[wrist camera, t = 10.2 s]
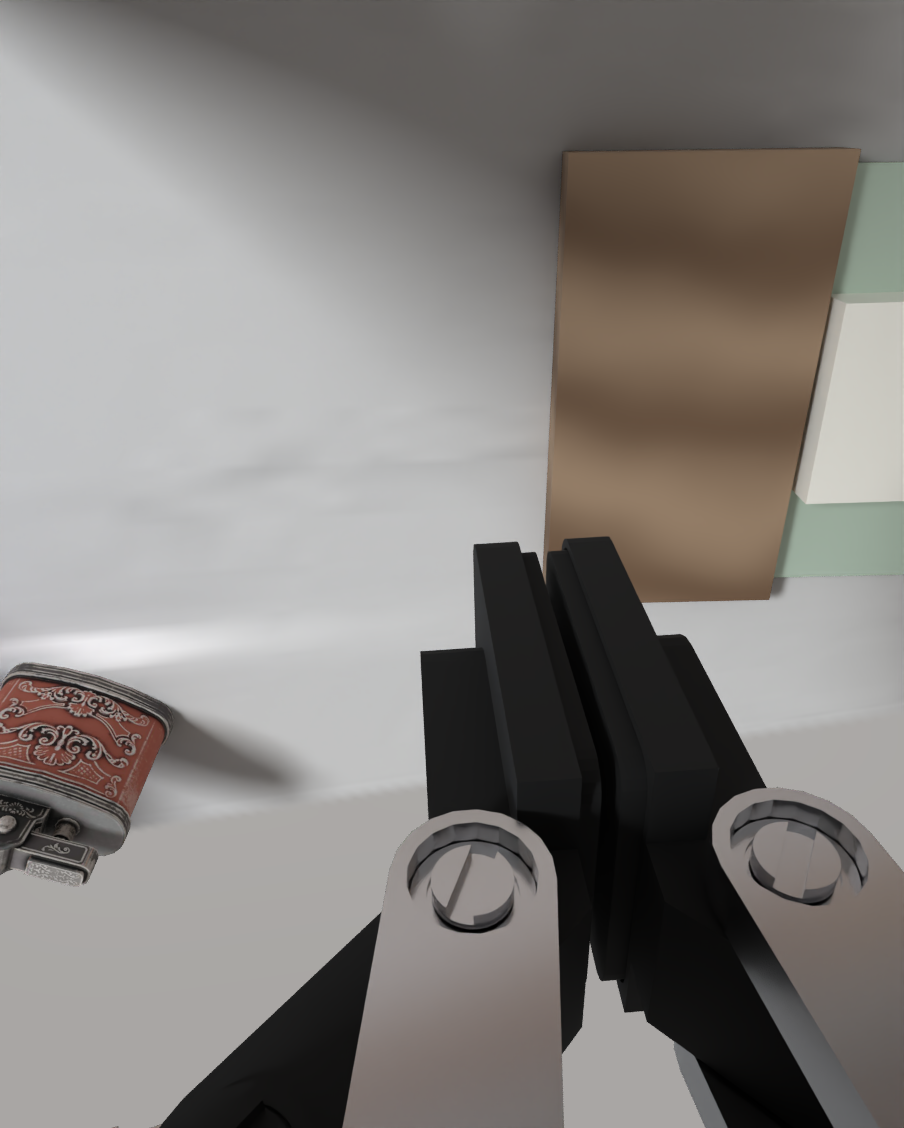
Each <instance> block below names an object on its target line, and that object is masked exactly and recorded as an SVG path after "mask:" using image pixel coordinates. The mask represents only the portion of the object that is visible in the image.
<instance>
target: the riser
mask: <svg viewBox="0 0 904 1128" xmlns="http://www.w3.org/2000/svg"><path fill="white" fill-rule="evenodd" d="M860 152H861V149H856V148H844V147H829V148H761V149H693V150H625V151H563V155H562V176H561V197H560V218H559V239H558V260H557V281H556V303H555V324H554V345H553V366H552V387H551V408H550V430H549V451H548V472H547V493H546V514H545V535H544V556H543V577H544V581H545V584H546V560H547V553H548V551H560V550H562V543H563V541H564V539H570V538H586V537H602V536H609V537H610V539H611V540H612V542H613V544H614V546H615V548H616V550H617V553H618V555H619V557H620V559H621V561H622V563H623V565H624V567H625V570H626V572H627V574H628V576H629V578H630V580H631V582H632V584H633V586H634V589H635V591H636V593H637V595H638V597H639V599H640V601H641V603H645V602H689V601H733V600H769V598H770V593H771V588H772V583H773V578H774V573H775V568H776V564H777V559H778V554H779V549H780V544H781V539H782V534H783V529H784V524H785V519H786V515H787V510H788V505H789V500H790V495H791V490H792V485H793V480H794V475H795V470H796V466H797V461H798V456H799V451H800V446H801V441H802V436H803V431H804V426H805V421H806V417H807V412H808V407H809V402H810V397H811V392H812V387H813V382H814V377H815V372H816V368H817V363H818V358H819V353H820V348H821V343H822V338H823V333H824V328H825V323H826V319H827V314H828V309H829V304H830V299H831V294H832V289H833V284H834V279H835V274H836V270H837V265H838V260H839V255H840V250H841V245H842V240H843V235H844V230H845V226H846V221H847V216H848V211H849V206H850V201H851V196H852V191H853V186H854V181H855V177H856V172H857V167H858V162H859V157H860Z"/></svg>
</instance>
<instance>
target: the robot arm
mask: <svg viewBox="0 0 904 1128" xmlns="http://www.w3.org/2000/svg"><path fill="white" fill-rule="evenodd" d="M473 562H474V601H475V641H476V648H465V649H450V650H435V651H420V653H421V675H422V695H423V715H424V735H425V755H426V776H427V793H428V794H427V795H428V813H429V814H428V815H429V820H428V821H427V822H425V823H424V824H422V825H421V826H420V827H418V828H416V829H415V830H413V831H412V832H411V833H410V834H409V835H408V836H407V838H406V839H405V840H404V841H403V843H402V844H401V845H400V846H399V847H398V849H397V851H396V854H395V856H394V859H393V861H392V864H391V867H390V869H389V874H388V880H387V885H386V891H385V896H384V902H383V907H382V912H381V913H380V914H379V915H378V916H377V917H376V918H375V919H373V920H372V921H371V922H370V923H369V924H368V925H367V926H366V927H365V928H364V929H363V930H362V931H361V932H360V933H359V934H357V935H356V936H355V938H353V939H352V940H351V941H350V942H349V943H348V944H347V945H346V946H345V947H344V948H343V949H342V950H341V951H339V952H338V953H337V954H336V955H335V956H334V957H333V958H332V959H331V960H330V961H329V962H328V963H327V964H326V965H325V966H324V967H323V968H322V969H321V970H319V971H318V972H317V973H316V974H315V975H314V976H313V977H312V978H311V979H310V980H309V981H308V982H307V983H306V984H304V985H303V986H302V987H301V988H300V989H299V990H298V991H297V992H296V993H295V994H294V995H293V996H292V997H291V998H290V999H289V1000H288V1001H287V1002H285V1003H284V1004H283V1005H282V1006H281V1007H280V1008H279V1009H278V1010H277V1011H276V1012H275V1013H274V1014H273V1015H272V1016H271V1017H270V1018H268V1020H266V1021H265V1022H264V1023H263V1024H262V1025H261V1026H260V1027H259V1028H258V1029H257V1030H256V1031H255V1032H254V1033H252V1034H251V1036H249V1037H248V1038H247V1039H246V1040H245V1041H244V1042H243V1043H242V1044H241V1045H240V1046H239V1047H238V1048H237V1049H236V1050H234V1051H233V1052H232V1053H231V1054H230V1055H229V1056H228V1057H227V1058H226V1059H225V1060H224V1061H223V1062H222V1063H221V1064H220V1065H219V1066H217V1067H216V1069H214V1070H213V1071H212V1073H210V1074H209V1075H208V1076H207V1077H206V1078H205V1079H204V1080H203V1081H202V1082H201V1083H199V1084H198V1085H197V1086H196V1087H195V1088H194V1089H193V1090H192V1091H191V1092H190V1093H189V1094H188V1095H187V1096H186V1097H185V1098H184V1099H183V1100H182V1101H181V1102H180V1103H179V1104H178V1106H177V1107H176V1108H175V1109H174V1110H173V1112H172V1113H171V1114H170V1115H169V1116H168V1117H167V1119H166V1120H165V1121H164V1122H163V1124H160V1125H157V1126H154V1127H151V1128H564V1116H563V1079H562V1053H563V1052H564V1051H565V1049H566V1048H567V1046H568V1045H569V1044H570V1043H571V1041H572V1040H573V1038H574V1037H575V1036H576V1034H577V1033H578V1031H579V1030H580V1029H581V1027H582V1020H583V1008H584V995H585V983H586V979H587V968H588V955H589V945H590V944H591V948H592V953H593V957H594V961H595V965H596V970H597V973H598V976H599V979H600V980H601V981H609V980H617V984H618V988H619V992H620V996H621V1000H622V1004H623V1008H624V1012H637V1011H644V1013H645V1016H646V1020H647V1022H648V1023H650V1024H651V1025H652V1026H654V1027H655V1028H657V1029H658V1030H659V1031H661V1032H662V1033H664V1034H665V1035H666V1036H668V1037H669V1038H670V1039H672V1040H673V1041H674V1050H675V1053H676V1057H677V1061H678V1064H679V1067H680V1071H681V1073H682V1075H683V1078H684V1080H685V1082H686V1084H687V1087H688V1089H689V1091H690V1094H691V1096H692V1098H693V1100H694V1103H695V1105H696V1107H697V1110H698V1112H699V1114H700V1117H701V1119H702V1121H703V1123H704V1125H705V1127H706V1128H904V872H903V871H902V869H901V868H900V867H899V866H898V865H897V863H896V862H895V861H894V860H893V859H892V857H891V856H890V855H889V854H888V853H887V851H886V850H885V849H884V848H883V847H882V845H881V844H880V843H879V842H878V841H877V839H876V838H875V837H874V836H873V835H872V833H870V831H868V830H867V829H866V828H865V827H864V826H863V825H862V824H861V823H860V822H859V821H858V820H857V819H856V818H855V817H853V815H851V814H850V813H848V812H846V811H844V810H843V809H841V808H840V807H838V806H836V805H835V804H833V803H832V802H830V801H828V800H825V799H823V798H820V797H817V796H814V795H812V794H809V793H806V792H804V791H797V790H791V789H784V788H778V787H777V788H766V786H765V784H764V782H763V780H762V778H761V776H760V774H759V772H758V771H757V769H756V767H755V765H754V763H753V761H752V759H751V757H750V755H749V753H748V752H747V750H746V748H745V746H744V744H743V742H742V740H741V738H740V736H739V734H738V732H737V731H736V729H735V727H734V725H733V723H732V721H731V719H730V717H729V715H728V713H727V712H726V710H725V708H724V706H723V704H722V702H721V700H720V698H719V696H718V694H717V693H716V691H715V689H714V687H713V685H712V683H711V681H710V679H709V677H708V675H707V674H706V672H705V670H704V668H703V666H702V664H701V662H700V660H699V658H698V656H697V655H696V653H695V651H694V649H693V647H692V645H691V643H690V642H689V641H688V639H687V638H686V637H685V636H683V635H681V634H676V635H661V636H657V635H656V633H655V631H654V629H653V627H652V625H651V622H650V620H649V618H648V616H647V614H646V612H645V610H644V608H643V605H642V603H641V601H640V599H639V597H638V595H637V593H636V591H635V589H634V586H633V584H632V582H631V580H630V578H629V576H628V574H627V572H626V570H625V567H624V565H623V563H622V561H621V559H620V557H619V555H618V553H617V550H616V548H615V546H614V544H613V542H612V540H611V539H610V537H609V536H602V537H586V538H570V539H564V541H563V543H562V550H560V551H548V553H547V560H546V584H545V581H544V577H543V574H542V571H541V567H540V564H539V561H538V557H537V554H536V552H528V553H521V550H520V546H519V544H518V542H505V543H489V544H474V550H473ZM113 1128H119V1127H118V1126H116V1127H113Z"/></svg>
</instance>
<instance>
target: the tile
mask: <svg viewBox="0 0 904 1128" xmlns="http://www.w3.org/2000/svg"><path fill="white" fill-rule="evenodd" d="M792 490H793V491H794V492H795V493H796V495H797V496H798V497H799V498H800V499H801V500H802V501H803V502H804V503H805V504H827V503H859V502H890V501H904V292H879V293H845V294H831V299H830V304H829V309H828V314H827V319H826V323H825V328H824V333H823V338H822V343H821V348H820V353H819V358H818V363H817V368H816V372H815V377H814V382H813V387H812V392H811V397H810V402H809V407H808V412H807V417H806V421H805V426H804V431H803V436H802V441H801V446H800V451H799V456H798V461H797V466H796V470H795V475H794V480H793V485H792Z"/></svg>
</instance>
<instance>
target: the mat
mask: <svg viewBox="0 0 904 1128" xmlns="http://www.w3.org/2000/svg"><path fill="white" fill-rule="evenodd" d="M879 292H904V162H864V163H858V167H857V172H856V177H855V181H854V186H853V191H852V196H851V201H850V206H849V211H848V216H847V221H846V226H845V230H844V235H843V240H842V245H841V250H840V255H839V260H838V265H837V270H836V274H835V279H834V284H833V289H832V294H845V293H879ZM865 575H904V501H890V502H859V503H827V504H805V503H804V502H803V501H802V500H801V499H800V498H799V497H798V496H797V495H796V493H795V492H794V491H793V490H791V495H790V500H789V505H788V510H787V515H786V519H785V524H784V529H783V534H782V539H781V544H780V549H779V554H778V559H777V564H776V568H775V573H774V578H775V577H820V576H865Z"/></svg>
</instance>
